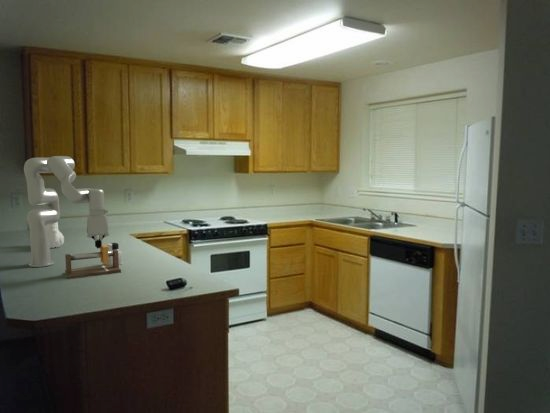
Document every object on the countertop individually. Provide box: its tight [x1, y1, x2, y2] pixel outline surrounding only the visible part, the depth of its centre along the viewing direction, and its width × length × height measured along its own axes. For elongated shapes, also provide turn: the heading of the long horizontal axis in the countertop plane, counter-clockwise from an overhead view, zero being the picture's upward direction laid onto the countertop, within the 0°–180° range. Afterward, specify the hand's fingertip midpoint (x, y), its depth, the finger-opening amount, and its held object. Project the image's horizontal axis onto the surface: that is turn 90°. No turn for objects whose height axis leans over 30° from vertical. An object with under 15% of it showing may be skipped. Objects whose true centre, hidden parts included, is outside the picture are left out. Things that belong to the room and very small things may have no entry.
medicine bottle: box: [105, 242, 123, 266], centre depth 257 cm, size 7×7×12 cm
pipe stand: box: [64, 250, 122, 280], centre depth 238 cm, size 15×25×11 cm, turn 120°
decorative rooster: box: [45, 221, 65, 249], centre depth 307 cm, size 25×16×25 cm, turn 21°
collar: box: [99, 243, 109, 265], centre depth 241 cm, size 9×2×9 cm, turn 30°
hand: (98, 247), depth 239 cm, fingers closed
